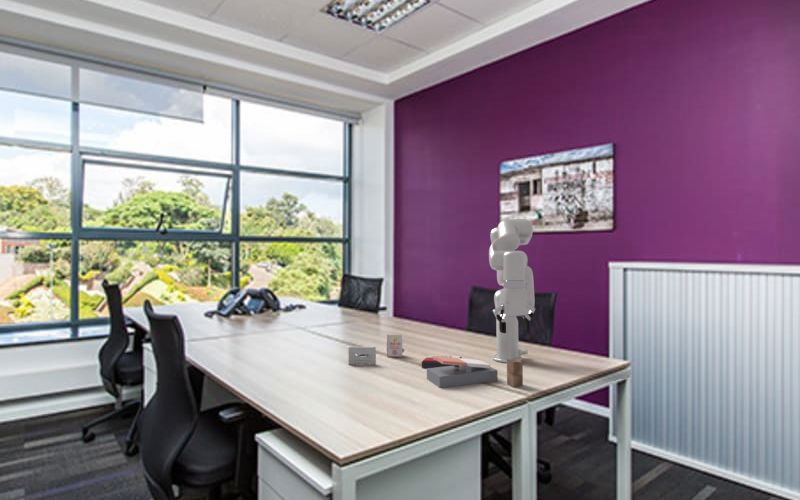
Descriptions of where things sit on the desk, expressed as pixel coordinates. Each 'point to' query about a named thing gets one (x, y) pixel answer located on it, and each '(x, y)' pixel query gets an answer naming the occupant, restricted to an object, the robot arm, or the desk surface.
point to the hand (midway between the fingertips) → (514, 331)
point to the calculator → (435, 361)
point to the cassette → (362, 359)
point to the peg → (515, 373)
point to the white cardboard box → (394, 345)
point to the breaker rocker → (461, 362)
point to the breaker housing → (460, 375)
